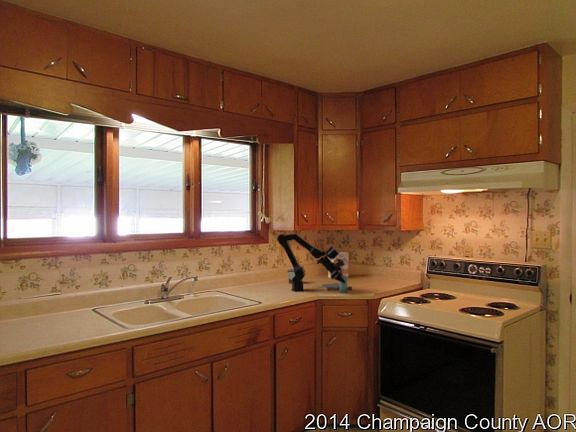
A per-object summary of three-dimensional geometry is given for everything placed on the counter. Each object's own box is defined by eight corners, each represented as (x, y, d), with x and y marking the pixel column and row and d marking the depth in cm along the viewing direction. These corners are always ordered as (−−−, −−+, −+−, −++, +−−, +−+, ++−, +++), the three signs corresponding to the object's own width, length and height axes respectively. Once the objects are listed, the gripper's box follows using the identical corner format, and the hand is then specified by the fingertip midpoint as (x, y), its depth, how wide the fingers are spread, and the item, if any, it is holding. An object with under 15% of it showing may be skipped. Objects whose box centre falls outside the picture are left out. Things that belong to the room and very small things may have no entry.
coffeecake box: (333, 279, 304) (333, 253, 304) (328, 277, 310) (327, 252, 310) (349, 277, 311) (348, 252, 311) (343, 276, 318) (343, 251, 317)
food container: (304, 282, 290) (304, 268, 290) (304, 284, 284) (304, 270, 283) (287, 282, 291) (287, 268, 291) (286, 283, 285) (286, 269, 285)
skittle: (342, 293, 251) (342, 277, 251) (337, 291, 255) (337, 276, 255) (348, 292, 253) (348, 276, 253) (344, 291, 258) (344, 275, 258)
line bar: (327, 290, 259) (327, 287, 259) (327, 289, 262) (327, 286, 262) (351, 290, 261) (351, 287, 261) (350, 289, 264) (350, 286, 263)
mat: (331, 288, 266) (331, 287, 266) (322, 285, 276) (322, 284, 276) (346, 287, 271) (346, 285, 271) (336, 284, 282) (336, 282, 282)
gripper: (335, 257, 246) (353, 275, 244) (338, 254, 264) (355, 271, 262) (323, 269, 248) (340, 288, 245) (326, 265, 266) (343, 282, 264)
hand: (345, 282), depth 254 cm, fingers closed on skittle, 5 cm apart
